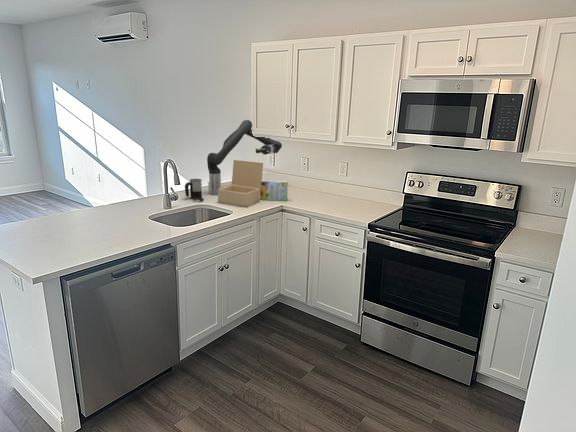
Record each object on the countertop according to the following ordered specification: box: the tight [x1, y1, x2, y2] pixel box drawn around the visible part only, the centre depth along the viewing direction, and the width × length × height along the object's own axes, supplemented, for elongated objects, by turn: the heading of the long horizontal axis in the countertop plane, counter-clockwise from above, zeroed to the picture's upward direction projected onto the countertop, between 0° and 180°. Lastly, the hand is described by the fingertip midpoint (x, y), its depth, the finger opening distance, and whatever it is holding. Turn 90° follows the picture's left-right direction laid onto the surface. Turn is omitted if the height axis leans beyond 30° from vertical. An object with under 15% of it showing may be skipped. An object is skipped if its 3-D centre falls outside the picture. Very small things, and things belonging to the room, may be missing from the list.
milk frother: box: [184, 178, 205, 202], centre depth 300 cm, size 14×16×15 cm
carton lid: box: [231, 159, 264, 189], centre depth 302 cm, size 26×20×1 cm
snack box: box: [260, 179, 289, 202], centre depth 305 cm, size 21×6×15 cm, turn 84°
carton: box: [217, 184, 260, 208], centre depth 296 cm, size 25×19×10 cm
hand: (256, 151), depth 310 cm, fingers closed
